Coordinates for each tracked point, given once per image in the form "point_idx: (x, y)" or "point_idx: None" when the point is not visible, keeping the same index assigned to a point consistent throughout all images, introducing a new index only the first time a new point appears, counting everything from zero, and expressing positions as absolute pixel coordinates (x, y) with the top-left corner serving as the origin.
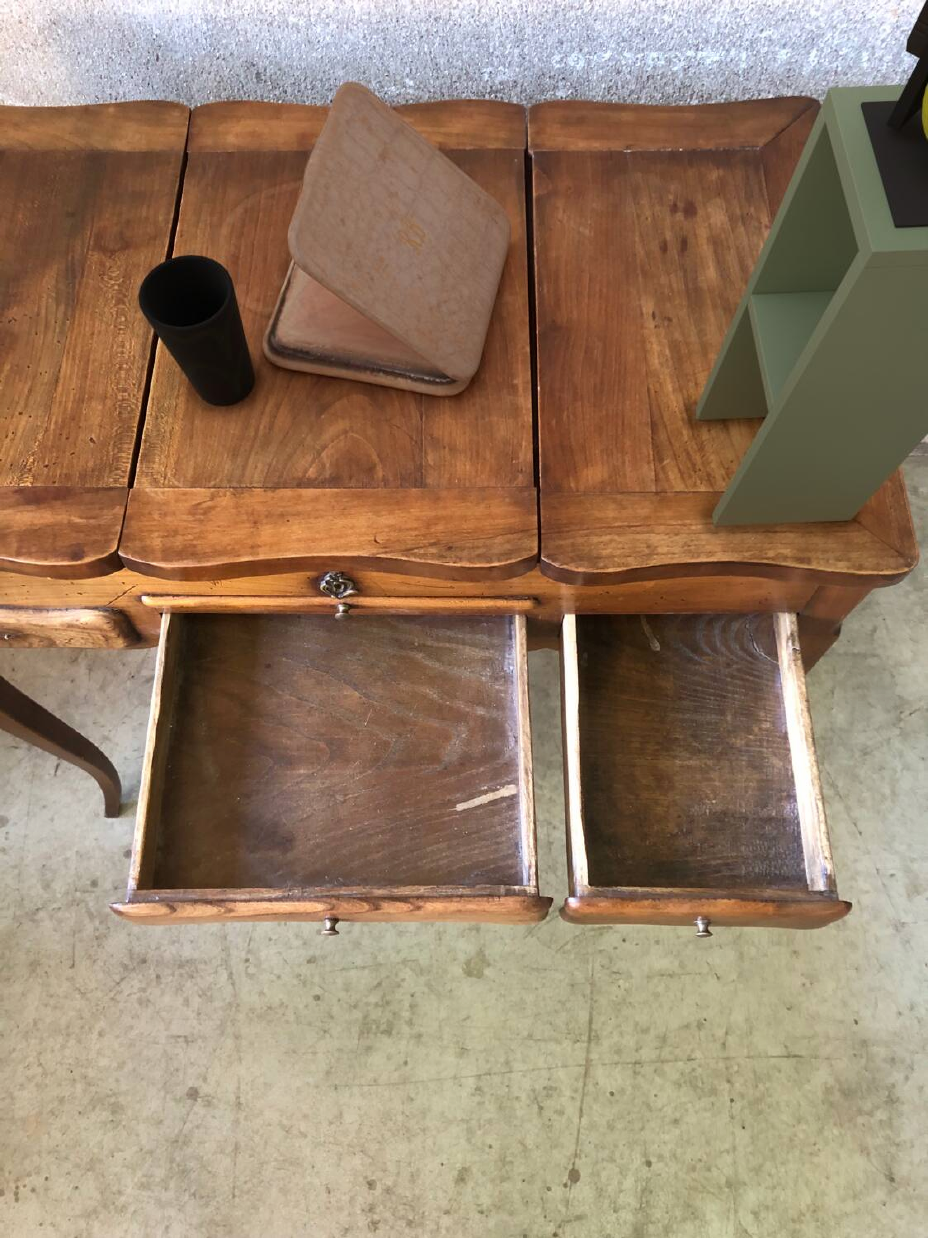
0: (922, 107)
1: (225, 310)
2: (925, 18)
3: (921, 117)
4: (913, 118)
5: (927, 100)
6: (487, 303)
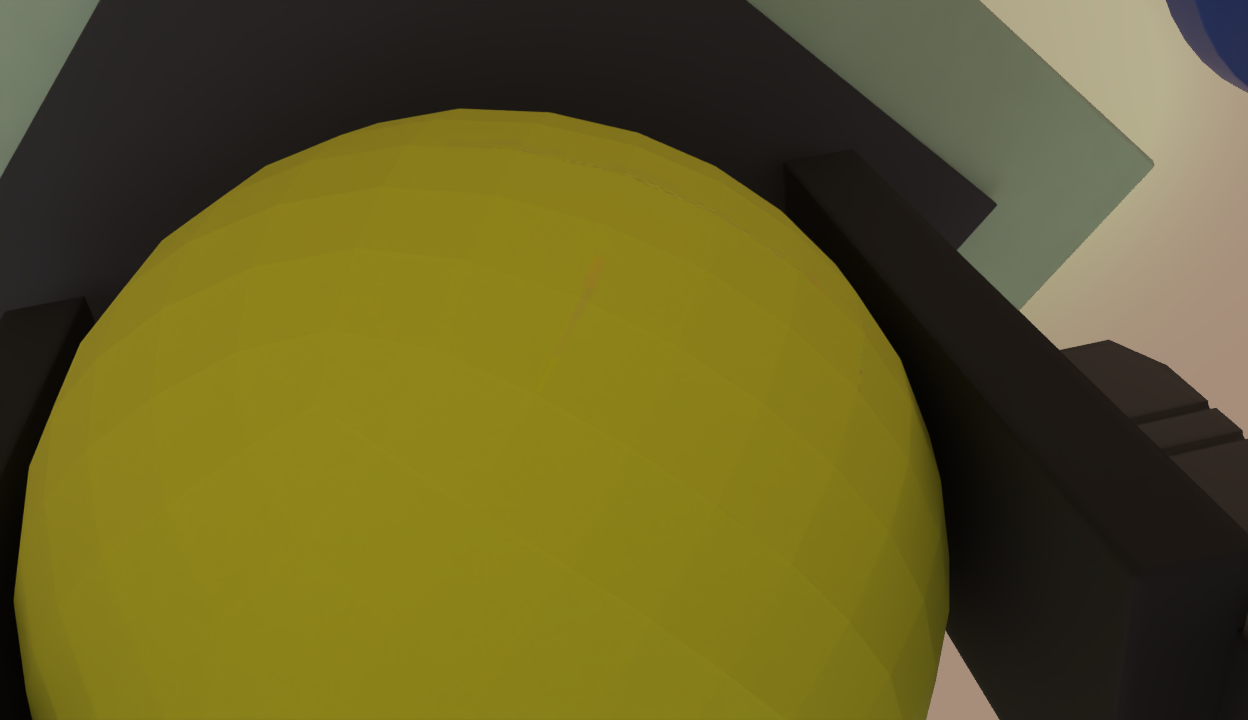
0: (62, 225)
1: None
2: None
3: (122, 272)
4: (105, 306)
5: None
6: None
